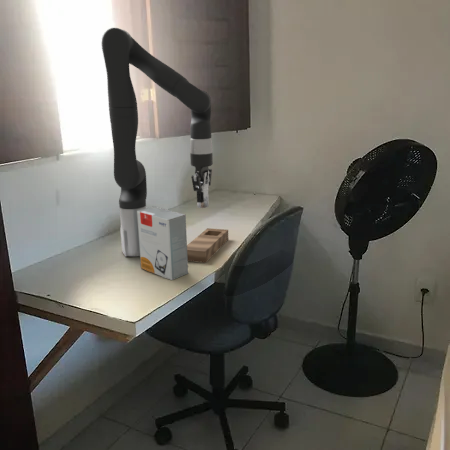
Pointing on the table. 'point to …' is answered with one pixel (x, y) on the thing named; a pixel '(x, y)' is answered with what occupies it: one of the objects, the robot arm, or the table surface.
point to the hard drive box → (163, 242)
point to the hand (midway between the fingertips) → (202, 200)
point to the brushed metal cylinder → (206, 201)
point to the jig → (206, 244)
